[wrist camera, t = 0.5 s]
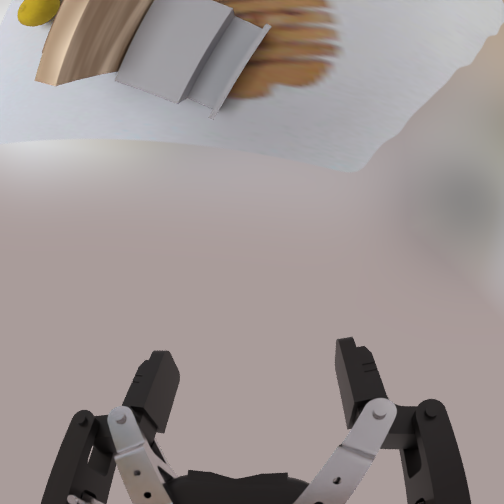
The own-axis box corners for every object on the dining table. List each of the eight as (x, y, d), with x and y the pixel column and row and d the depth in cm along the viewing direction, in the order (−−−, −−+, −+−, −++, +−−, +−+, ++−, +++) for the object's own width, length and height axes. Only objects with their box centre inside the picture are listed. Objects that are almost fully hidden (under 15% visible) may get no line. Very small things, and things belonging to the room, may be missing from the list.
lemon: (74, -9, 16) (41, -15, 10) (63, 24, 20) (29, 24, 13) (47, -4, 15) (14, -6, 9) (38, 27, 18) (3, 30, 12)
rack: (70, 57, 23) (42, 61, 18) (104, -17, 17) (80, -26, 12) (219, 109, 31) (213, 119, 26) (266, 32, 25) (271, 26, 20)
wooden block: (115, 63, 25) (34, 80, 12) (150, -4, 19) (83, -35, 7) (131, 69, 25) (55, 86, 13) (167, 0, 20) (109, -34, 8)
